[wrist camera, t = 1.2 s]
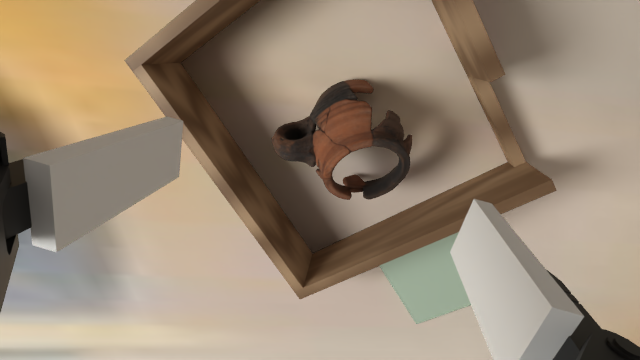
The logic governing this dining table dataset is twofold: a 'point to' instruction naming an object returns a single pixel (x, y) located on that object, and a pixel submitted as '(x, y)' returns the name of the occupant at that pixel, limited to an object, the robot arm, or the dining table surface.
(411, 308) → the mat
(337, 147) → the brown hollow vessel
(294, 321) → the dining table surface
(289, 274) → the crate
